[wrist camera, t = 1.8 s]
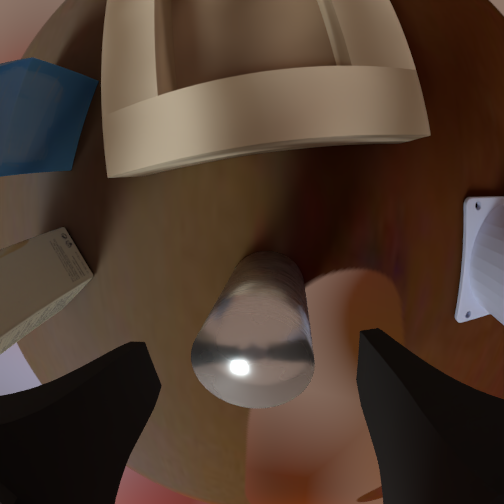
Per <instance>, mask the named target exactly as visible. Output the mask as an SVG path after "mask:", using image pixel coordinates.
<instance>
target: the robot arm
mask: <svg viewBox="0 0 504 504" xmlns="http://www.w3.org/2000/svg"><path fill="white" fill-rule="evenodd" d="M476 202H477V208H476V207H475V205H476ZM467 312H468V313H467ZM466 313H467V315H466ZM488 314H491V315H493V316H494V317H495V318H496V319H497V320H498V321H500V322H501V323H502V324H503V325H504V196H483V197H467V198H466V199H465V201H464V234H463V255H462V267H461V277H460V285H459V293H458V300H457V306H456V312H455V319H456V320H457V321H458V322H459V323H461V322H465V321H468V320H472V319H475V318H479V317H482V316H485V315H488ZM356 380H357V386H358V391H359V397H360V402H361V407H362V409H363V413H364V416H365V420H366V423H367V426H368V429H369V432H370V436H371V439H372V442H373V446H374V449H375V453H376V456H377V460H378V464H379V469H380V476H381V484H382V492H383V504H504V399H501V398H498V397H495V396H492V395H489V394H486V393H484V392H481V391H479V390H476V389H474V388H472V387H470V386H468V385H466V384H463V383H461V382H459V381H457V380H455V379H453V378H452V377H450V376H448V375H446V374H444V373H443V372H441V371H439V370H438V369H436V368H434V367H433V366H431V365H430V364H428V363H427V362H425V361H424V360H422V359H421V358H419V357H418V356H416V355H415V354H413V353H412V352H411V351H409V350H408V349H406V348H405V347H404V346H402V345H401V344H399V343H398V342H397V341H395V340H394V339H393V338H391V337H390V336H389V335H387V334H386V333H385V332H383V331H382V330H380V329H379V328H376V329H370V330H363V331H360V341H359V355H358V368H357V379H356ZM161 386H162V385H161V383H160V380H159V378H158V376H157V373H156V371H155V368H154V365H153V363H152V360H151V358H150V355H149V352H148V350H147V347H146V344H145V342H129V343H126V344H124V345H122V346H120V347H118V348H116V349H114V350H112V351H110V352H108V353H106V354H104V355H103V356H101V357H99V358H97V359H95V360H93V361H92V362H90V363H88V364H86V365H84V366H82V367H80V368H78V369H76V370H74V371H72V372H70V373H68V374H66V375H64V376H62V377H60V378H58V379H56V380H53V381H51V382H49V383H46V384H43V385H40V386H38V387H35V388H32V389H29V390H25V391H21V392H17V393H13V394H8V395H3V396H0V504H115V499H116V495H117V492H118V488H119V484H120V481H121V478H122V475H123V472H124V469H125V466H126V463H127V461H128V458H129V456H130V454H131V452H132V450H133V448H134V446H135V444H136V442H137V440H138V438H139V436H140V435H141V433H142V431H143V429H144V427H145V425H146V423H147V421H148V419H149V417H150V415H151V413H152V411H153V409H154V407H155V404H156V401H157V399H158V395H159V392H160V389H161Z"/></svg>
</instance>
